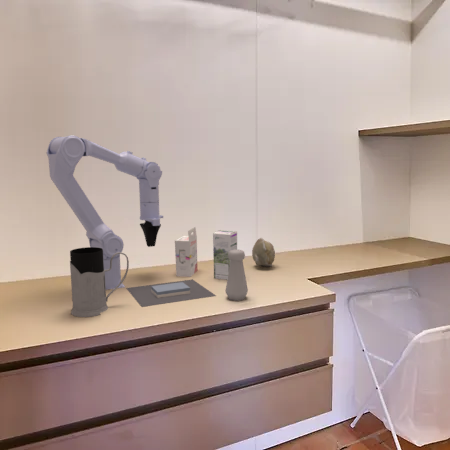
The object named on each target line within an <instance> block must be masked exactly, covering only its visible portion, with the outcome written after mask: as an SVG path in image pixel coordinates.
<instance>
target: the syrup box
mask: <svg viewBox="0 0 450 450" xmlns="http://www.w3.org/2000/svg"><path fill="white" fill-rule="evenodd" d="M212 239H213V240H212V246H213V248H212V250H213V251H212V252H213V253H212V254H213V279H214V280H224V281H227V279H228V273H229V267H230V261H231V260H229V259H228V252H229V251H231V250H236V249H237V250H238V231H236V230H221V229H220V230H217V231H215V232H213V233H212Z"/></svg>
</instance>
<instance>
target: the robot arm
mask: <svg viewBox="0 0 450 450" xmlns="http://www.w3.org/2000/svg"><path fill="white" fill-rule="evenodd" d="M45 153H46V155H47V158H48V167H49V168H48V169H49V177H50V180H51V181H52V183H53V184H54V185H55V187H56V188H57V190H58V191H59V193H60V194H61V196H62V197H63V199H64V200H65V202H66V203H67V205H68V206H69V208H70V209H71V210H72V212H73V213H74V215H75V216H76V218H77V220H78V221H79V222H80V223H81V225H82V226H83V228H84V230H85V232H86V234H85V235H86V237H87V239H88V242H89V247H97V248H102V249H103V262H104V270H107V269H109V268H110V260H111V257H112V256H113V255H114V254H115V253H117V252H121V253H123V250H124V246H125V244H124V240H123V239H122V238H121V237H120V236H119V235H117V234H115V233H114V231H113V230H112V228H110V226H108V225H107V224H106V223H105V222H104V220H102V219H103V218H101V216H100V215H99V213H98V211H97V210H96V208H95V206H93V203H92V202H91V201H90V199H89V198H88V197H87V195H86V193H85V191H84V190H83V189H82V186H80V184H79V182H78V181H77V179H76V178H75V176H74V174H75V170H76V166H77V165H78V163H80V160H81V159H82V158H83V157H92V158H95V159H98V160H101V161H103V162H107V163H110V164H113V165H114V167H115V168H116V171H118V172H121V173H124V174H127V175H129V176H131V177H135V178H136V179H137V180H138V187H139V188H138V189H139V191H138V192H139V210H140V211H139V213H140V214H139V215H140V216H139V220H140V221H144V222H141V223H139V226H140V228H141V230H142V232H143V235H144V239H145V240H144V241H145V243H146V246H147V247H148V248H151V247H155V246H156V243H157V237H158V233H159V230H160V228H161V226H162V225H161V219H164V215H162V214H161V215H160V195H159V193H160V190H159V188H160V187H159V185H160V179H161V178H162V175H163V170H161V167H160V166H159V164H158V163H157V162H156V161H155V162H154V161H147V158H146V157H139V156H137V155H134V154H133V152H132V151H131V150H127V151H122V152H120V153H118V152H116V151H114V150H111V149H109V148H107V147H104V146H102V145H101V144H98V143H96V142H94V141H91V140H90V139H87V138H83V137H79V136H77V135H73V134H72V135H66V136H56V137H54V138H52V140H50V142H49V144H48V147H47V150H46V152H45ZM121 270H122V269H121V254H117V255H115V256H114V258H113V260H112V268H111V270H109V271H105V286H106V291H107V290H113V289H114V288H115V287H116V286H117V285H118V284H119V283H120V282H121V281H122V275H121V273H122V272H121ZM122 288H126V286H125V285H124V282H123V283H122V284H121V285H120V286H119V287H118V288H117V289H122Z"/></svg>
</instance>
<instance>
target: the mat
mask: <svg viewBox="0 0 450 450" xmlns="http://www.w3.org/2000/svg"><path fill="white" fill-rule="evenodd" d="M180 282H183V283H184V284H186V285H187V286H188V287H190V293H189V294H182V295H175V296H168V297H161V298H157V297H156V296H155V295H154V294H153V293H152V291H151V286H157V285H165V284H172V283H180ZM125 288H126V290H127V291H128V292H129V293H130V295H131V296H132V297H133V298H134V300H135V301H136V302H137V303H138V304H139V306H140V307H141V308H143V307H144V308H145V307H151V306H157V305H158V306H159V305H165V304H166V305H167V304H171V303H179V302H184V301H185V302H186V301H192V300H199V299H205V298H212V297H217V295H216V294H214V293H213V292H212V291H210V290H208V289H207V288H206V287H205V286H203V285H202V284H200V283H199V282H197V281H196V280H194V279H193V278H192V279H184V280H177V281H170V282H164V283H163V282H161V283H156V284H147V285H138V286H133V287H131V286H130V287H125Z"/></svg>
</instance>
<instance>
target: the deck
mask: <svg viewBox="0 0 450 450" xmlns="http://www.w3.org/2000/svg"><path fill="white" fill-rule="evenodd" d="M151 291H152V293H153V294H154V295H155V296H156V297H157V298H161V297H168V296H175V295H182V294H189V293H190V287H188V286H187V285H186V284H184V283H183V282H180V283H172V284H165V285H157V286H151Z"/></svg>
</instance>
